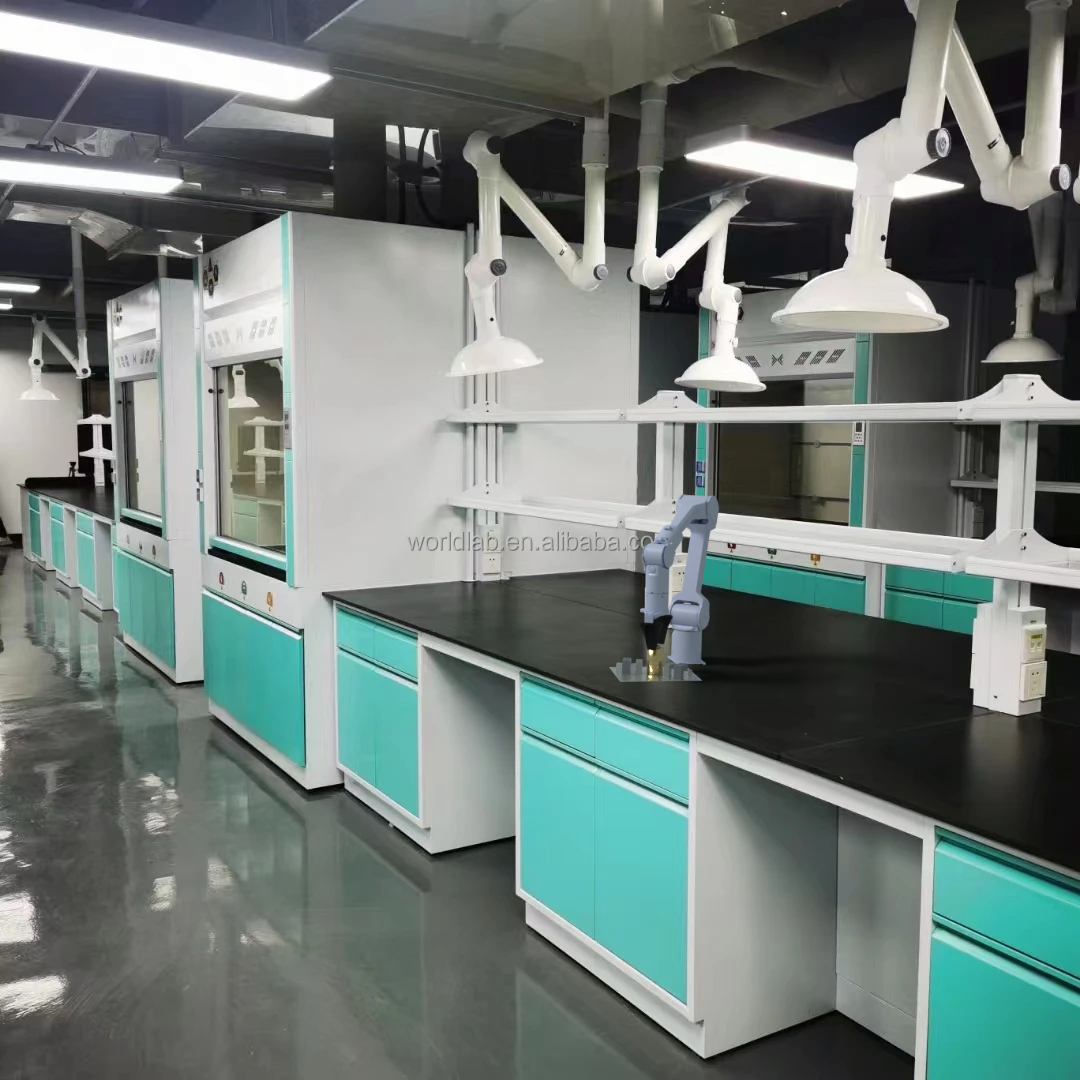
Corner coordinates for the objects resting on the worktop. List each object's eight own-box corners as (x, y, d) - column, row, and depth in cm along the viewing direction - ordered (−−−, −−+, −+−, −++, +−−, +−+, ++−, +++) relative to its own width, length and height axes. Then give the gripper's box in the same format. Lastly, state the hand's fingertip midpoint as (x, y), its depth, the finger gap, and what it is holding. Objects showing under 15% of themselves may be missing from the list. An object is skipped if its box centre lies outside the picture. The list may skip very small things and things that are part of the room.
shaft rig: (609, 668, 259) (609, 653, 258) (686, 667, 261) (686, 653, 261) (620, 683, 244) (620, 667, 244) (701, 682, 246) (702, 666, 246)
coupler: (645, 672, 254) (645, 644, 253) (660, 672, 254) (661, 644, 253) (648, 676, 250) (649, 647, 249) (664, 675, 250) (665, 647, 250)
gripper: (649, 587, 258) (648, 639, 260) (632, 595, 245) (631, 651, 246) (676, 588, 256) (675, 642, 257) (661, 597, 242) (660, 653, 244)
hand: (655, 646), depth 251 cm, fingers open, 7 cm apart
